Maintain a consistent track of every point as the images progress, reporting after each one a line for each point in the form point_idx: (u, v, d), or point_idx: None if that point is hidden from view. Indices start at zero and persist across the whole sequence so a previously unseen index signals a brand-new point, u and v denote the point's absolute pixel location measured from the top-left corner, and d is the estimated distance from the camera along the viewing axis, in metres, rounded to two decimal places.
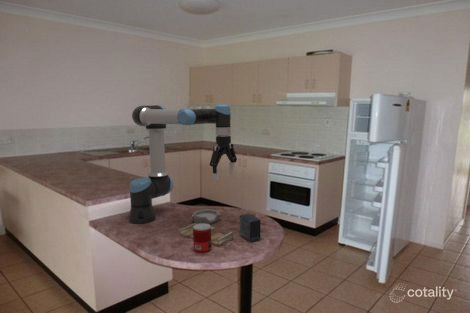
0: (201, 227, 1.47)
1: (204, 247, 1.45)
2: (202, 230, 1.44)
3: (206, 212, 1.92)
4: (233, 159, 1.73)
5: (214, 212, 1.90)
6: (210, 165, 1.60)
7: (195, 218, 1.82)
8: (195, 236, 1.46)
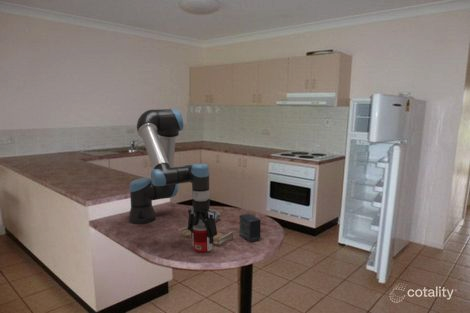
0: (201, 227, 1.47)
1: (204, 247, 1.45)
2: (202, 230, 1.44)
3: None
4: (208, 233, 1.44)
5: (214, 212, 1.90)
6: None
7: None
8: (195, 236, 1.46)
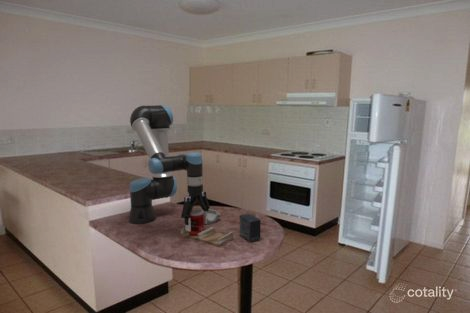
0: (197, 212, 1.64)
1: None
2: (203, 212, 1.65)
3: None
4: (205, 207, 1.68)
5: (214, 212, 1.90)
6: (182, 217, 1.57)
7: None
8: (201, 220, 1.62)
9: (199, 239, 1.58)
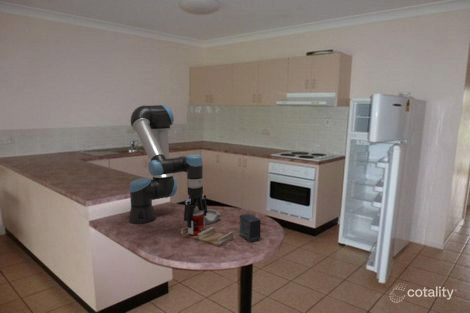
0: (197, 212, 1.64)
1: None
2: (203, 212, 1.65)
3: None
4: (204, 212, 1.67)
5: (214, 212, 1.90)
6: (184, 220, 1.58)
7: None
8: (201, 220, 1.62)
9: (199, 239, 1.58)
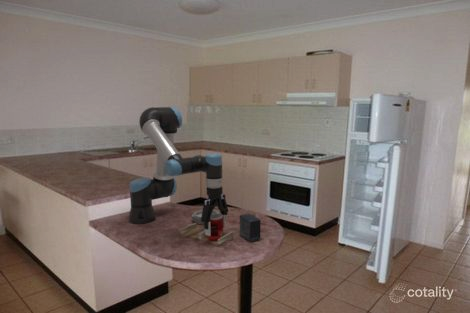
0: (216, 216, 1.57)
1: None
2: (222, 216, 1.58)
3: None
4: (224, 211, 1.61)
5: (214, 212, 1.90)
6: (201, 221, 1.50)
7: (195, 218, 1.82)
8: (220, 225, 1.55)
9: (199, 239, 1.58)
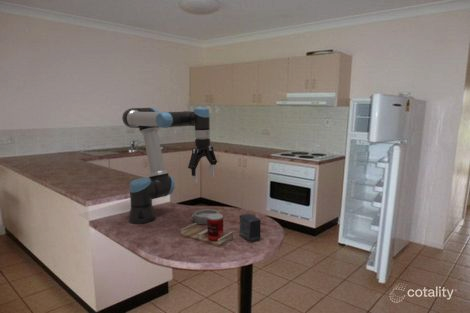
0: (216, 216, 1.57)
1: None
2: (222, 216, 1.58)
3: (206, 212, 1.92)
4: (213, 161, 1.74)
5: (214, 212, 1.90)
6: (189, 167, 1.61)
7: (195, 218, 1.82)
8: (220, 225, 1.55)
9: (199, 239, 1.58)
